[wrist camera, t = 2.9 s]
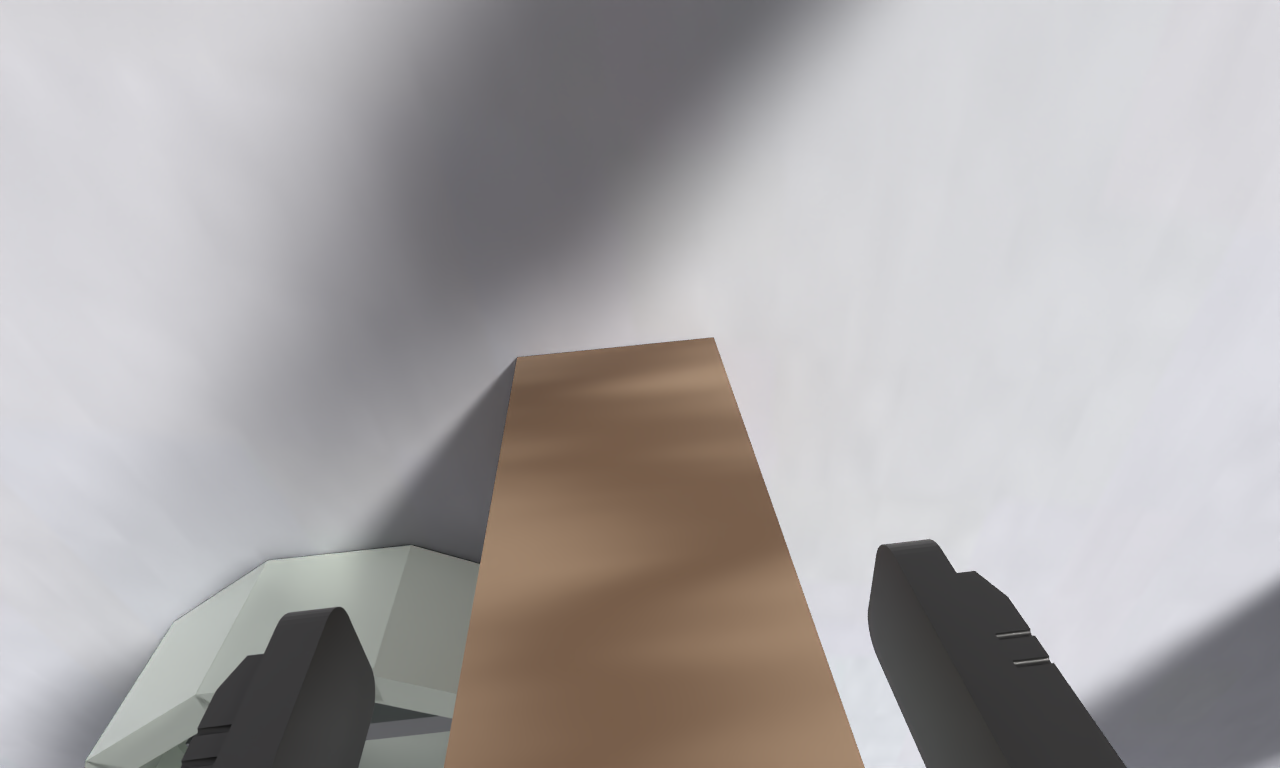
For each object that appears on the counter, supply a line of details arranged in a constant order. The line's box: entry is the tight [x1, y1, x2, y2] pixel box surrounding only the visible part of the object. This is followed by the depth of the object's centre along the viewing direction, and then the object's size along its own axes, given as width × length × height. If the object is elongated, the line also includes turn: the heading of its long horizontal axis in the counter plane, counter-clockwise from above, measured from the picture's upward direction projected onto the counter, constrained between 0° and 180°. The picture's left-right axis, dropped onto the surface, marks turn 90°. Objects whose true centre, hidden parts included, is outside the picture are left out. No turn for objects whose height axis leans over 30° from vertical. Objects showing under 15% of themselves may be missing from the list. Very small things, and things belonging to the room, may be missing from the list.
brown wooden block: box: [444, 338, 865, 768], centre depth 10 cm, size 4×4×12 cm
